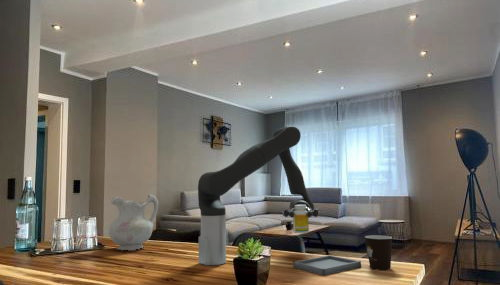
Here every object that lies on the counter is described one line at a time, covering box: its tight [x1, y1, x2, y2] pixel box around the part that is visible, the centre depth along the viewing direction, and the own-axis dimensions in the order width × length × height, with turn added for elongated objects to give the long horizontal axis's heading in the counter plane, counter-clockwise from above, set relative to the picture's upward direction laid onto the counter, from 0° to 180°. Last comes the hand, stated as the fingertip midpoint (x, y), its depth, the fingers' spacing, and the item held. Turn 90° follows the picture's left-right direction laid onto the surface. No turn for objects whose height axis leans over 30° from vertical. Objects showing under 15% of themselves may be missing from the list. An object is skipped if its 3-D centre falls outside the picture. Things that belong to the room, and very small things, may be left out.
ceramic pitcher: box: [108, 194, 159, 251], centre depth 168 cm, size 22×20×25 cm
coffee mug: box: [364, 234, 393, 271], centre depth 121 cm, size 12×9×10 cm
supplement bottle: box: [292, 205, 310, 235], centre depth 126 cm, size 5×5×10 cm
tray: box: [292, 254, 362, 276], centre depth 121 cm, size 18×14×2 cm
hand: (300, 214), depth 124 cm, fingers closed on supplement bottle, 5 cm apart
